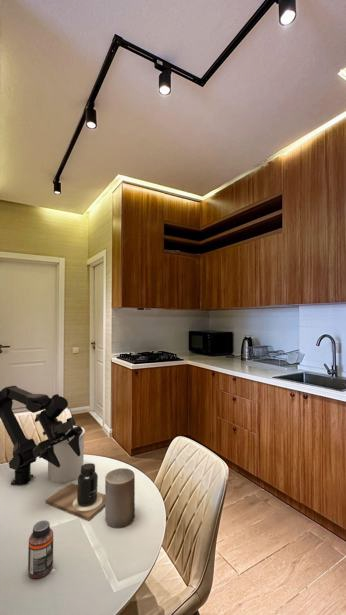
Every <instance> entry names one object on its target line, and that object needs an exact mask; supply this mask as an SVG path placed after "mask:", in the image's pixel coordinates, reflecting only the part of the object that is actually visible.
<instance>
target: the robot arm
mask: <svg viewBox="0 0 346 615" xmlns="http://www.w3.org/2000/svg"><path fill="white" fill-rule="evenodd" d="M14 401H16V402H19V403H20V404H22V405H25V409H26V410H28V411H29V412H30V413H32V414H35V413H37V414H36V415H35V418H34V423H38V422H39V424H40V426H41V427H42V430H43V432H42V435H43V436H45V435H46V437H47V439H45V440H42V441H40V442H39V443H38V444H36V441H35V439H34V438H27V436H26V434H25V433H24V430H23V429H22V427H21V425H20V424H19V421H18V419H17V417H16V415H15V413H14V411H13V403H14ZM68 406H69V402H68V399H66V398H64V397H63V396H61V395H59V394H58V393H57V394H53V395H52V397H49V395H47V394H44V393H32V392H29V391H27V390H25V389H22V388H20V387H18V386H17V385H10V386H9V385H8V386H5V387H3V388H2V389H1V390H0V420H1V423H2V424H3V427H4V429H5V431H6V433H7V434H8V437H9V439H10V441H11V443H12V445H13V448H12V458H11V459H10V461H9V462H8V467H9V469H12V470H13V471H14V478H13V480H12V481H11V482H10V485H11V486H12V485H15V486H18V485H19V486H20V485H27V484H29V483H30V482H31V481H32V479H33V478H34V476H35V474H32V473H31V472H32V471H31V469H32V468H31V466H32V464H33V463H36V462H37V459H38V458H39V459H42V460H45V461H46V462H48V461H49V462H50V463H52V464H53V465H55V466H56V467H58V468H59V467H60V463H59V461H58V459H57V457H56V455H55V453H54V445H56V444H58V443H60V442H63V441H65V440H67V441H69V443H68V444H69V445H70V447H71V448H72V449H73V451H74V452H75V453H76V455H77V456H78V457H79V456H80V455H81V454H80V447H79V436H80V435H81V433H82V431H83V430H82V428H83V427H82V426H80V425H76V420H75V418H74V417H73V416H71V417H68V418H66V421H65V422H63V421H62V420H58V417H59V416H60V415H61V414H62V413H63V412H64V411H65V410H66V409H67V408H68ZM73 426H77V427H75V428H73ZM81 427H82V428H81ZM70 429H71V430H70ZM68 430H70V431H69V432H68ZM67 432H68V433H67ZM65 433H67V434H66V435H65ZM62 438H63V439H62ZM48 439H49V440H48ZM56 441H57V442H56Z"/></svg>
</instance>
